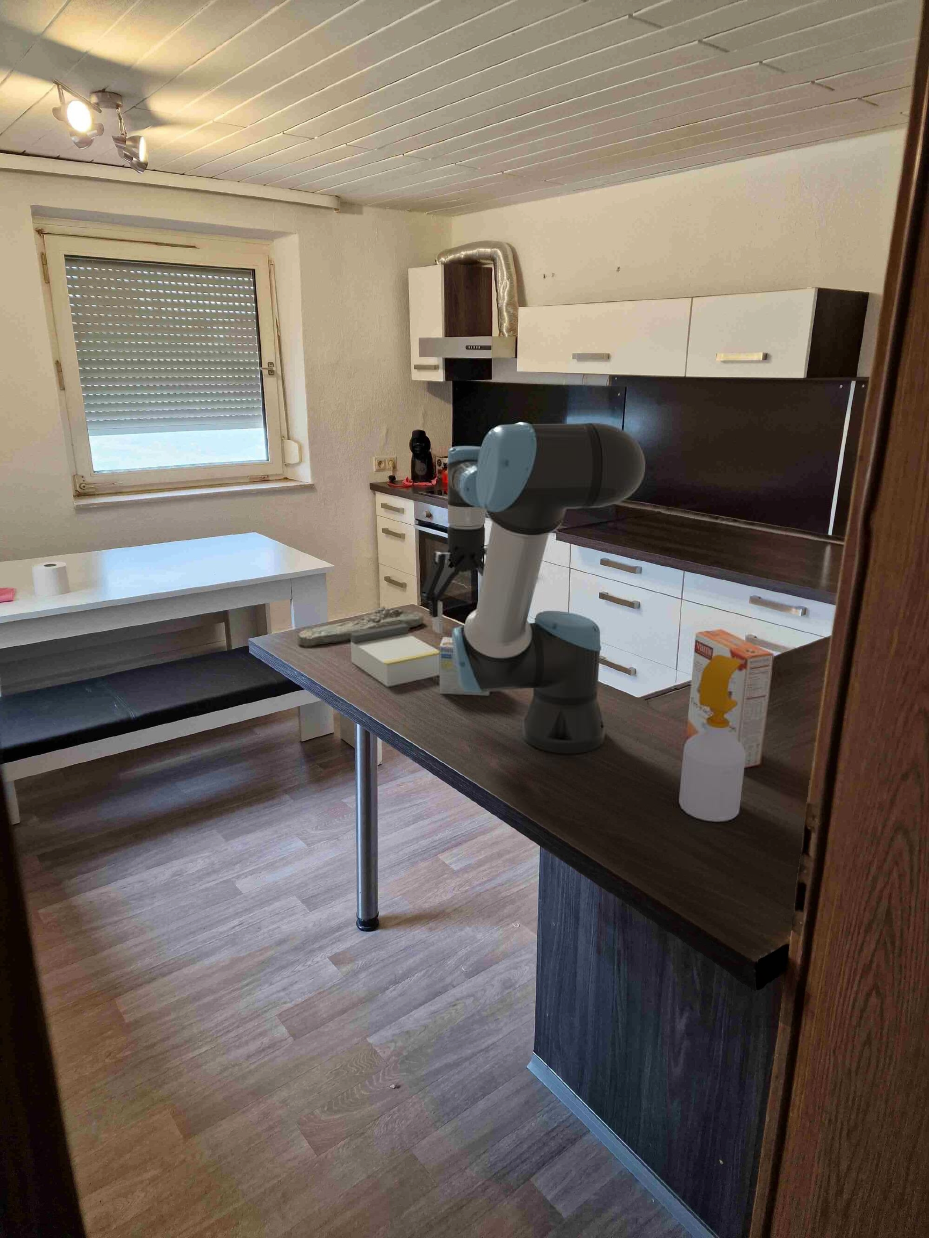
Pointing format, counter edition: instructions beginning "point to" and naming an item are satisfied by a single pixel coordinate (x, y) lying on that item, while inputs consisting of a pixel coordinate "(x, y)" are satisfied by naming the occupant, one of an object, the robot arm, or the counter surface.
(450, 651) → the light bulb box
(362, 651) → the platform
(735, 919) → the counter surface
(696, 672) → the cracker box
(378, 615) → the elongated rock
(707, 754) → the soap bottle
